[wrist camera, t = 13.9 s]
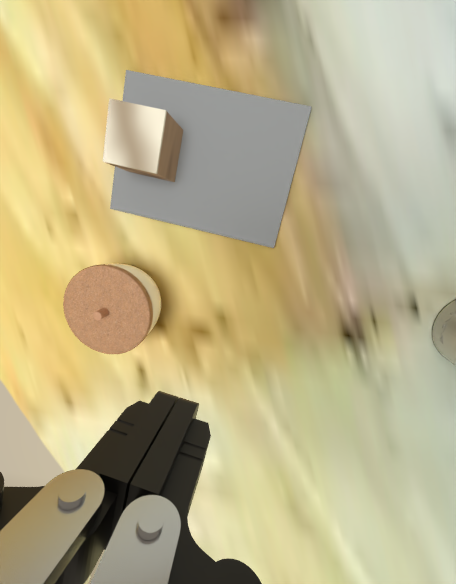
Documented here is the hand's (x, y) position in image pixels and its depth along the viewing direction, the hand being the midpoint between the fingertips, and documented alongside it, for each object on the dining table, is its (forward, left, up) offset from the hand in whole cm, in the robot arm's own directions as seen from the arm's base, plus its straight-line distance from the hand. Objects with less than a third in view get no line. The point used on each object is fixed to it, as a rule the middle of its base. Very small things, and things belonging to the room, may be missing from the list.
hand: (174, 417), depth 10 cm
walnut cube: (+14, -13, -22) cm, 29 cm away
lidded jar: (+14, +6, -28) cm, 32 cm away
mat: (+8, -13, -28) cm, 32 cm away
